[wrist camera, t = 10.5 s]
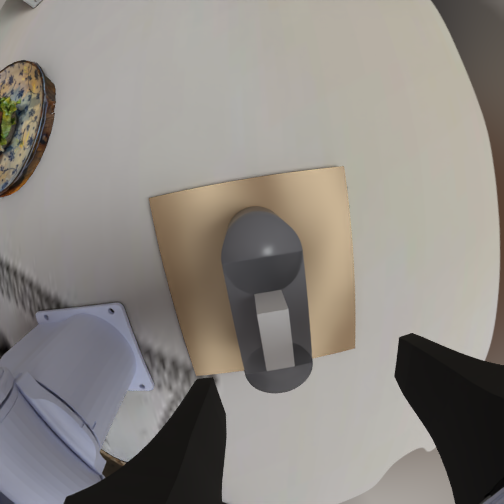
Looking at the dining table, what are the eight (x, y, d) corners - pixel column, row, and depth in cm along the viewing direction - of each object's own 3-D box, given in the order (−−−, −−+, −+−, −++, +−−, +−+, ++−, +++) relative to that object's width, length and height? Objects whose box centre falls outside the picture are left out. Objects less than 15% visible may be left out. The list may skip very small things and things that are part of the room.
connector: (248, 349, 19) (252, 423, 12) (221, 211, 16) (209, 231, 10) (297, 340, 19) (322, 410, 12) (280, 202, 16) (309, 215, 10)
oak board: (197, 369, 20) (196, 375, 19) (152, 197, 17) (148, 198, 16) (351, 342, 20) (354, 348, 19) (339, 166, 17) (343, 166, 16)
